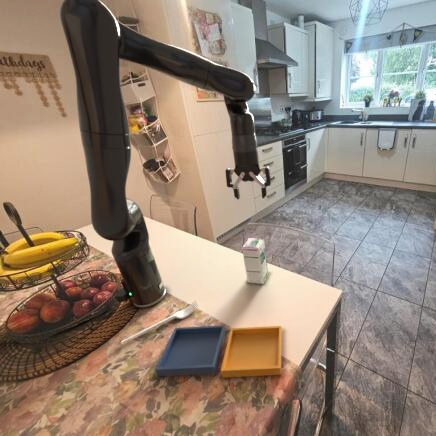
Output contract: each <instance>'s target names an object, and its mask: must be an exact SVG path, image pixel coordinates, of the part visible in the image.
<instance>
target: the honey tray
mask: <svg viewBox="0 0 436 436" xmlns="http://www.w3.org/2000/svg"><path fill="white" fill-rule="evenodd" d="M282 337H283V331H282V325H276V326H275V325H271V326H251V327H249V326H248V327H231V328H230V330H229V334H228V338H227V344H226V347H225V351H224V356H223V360H222V364H221V368H220V373H221V374H220V375H221V377H222V379H223V378H242V377H263V376H281V375H282V352H283V351H282V346H283V345H282V344H283V343H282V341H283V338H282Z"/></svg>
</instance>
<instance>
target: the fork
mask: <svg viewBox="0 0 436 436" xmlns="http://www.w3.org/2000/svg"><path fill="white" fill-rule="evenodd" d="M198 306H199V304H198V302H197V301H196V300H194V301H193V302H192V303H190V304H189V305H188V306H187V307H184V308H183V309H181V310H179V311H176V312H175V313H174V314H172V315H170V316H168V317H166V318H164V319H162V320H161V321H158V322H156V323H154V324H152V325H151V326H149V327H146V328H144V329H143V330H141V331H139V332H136V333H135V334H133V335H131V336H128V337H127V338H125V339H123V340H121V342H120V344H121V345H124V344H126V343H128V342H130V341H131V340H134V339H136V338H138V337H140V336H142V335H145V333H148V332H150V331H152V330H154V329H156V328H158V327H160V326H162V325H164V324H166V323H169V322H171V321H172V320H174V319H179V320H183V319H185V318H187V317H189V316H190V315H191V314H192V313H193V312H194V311H195V310H196V309H197V308H198Z"/></svg>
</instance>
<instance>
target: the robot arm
mask: <svg viewBox="0 0 436 436" xmlns="http://www.w3.org/2000/svg"><path fill="white" fill-rule="evenodd" d="M58 14H59V20H60V23H61V26H62V30H63V34H64V37H65V40H66V44H67V47H68V50H69V51H68V52H69V54H70V59H71V63H72V67H73V72H74V77H75V87H76V88H75V90H76V91H75V93H76V107H77V109H76V110H77V117H78V126H79V133H80V139H81V145H82V149H83V154H84V160H85V164H86V165H85V166H86V173H87V178H88V184H89V193H90V222H91V225H92V229H93V230H94V231H95V233H96V234H97V235H98V236H99V237H100V238H103V239H104V240H107V241H110V242H112V246H111V255H112V257H113V260H114V262H115V264H116V266H117V269H118V271H119V273H120V276H121V277H122V278H121V280H120V283H121V286H122V288H121V289H120V290H119V292H118V293H117V294H115V295H116V296H115V295H114V296H115V297H116V298H115V299H116V301H117V303H126V302H128V301H129V303H130V305H131V306H134V307H135V308H138V309H146V308H150V307H153V306H155V305H157V304H158V303H160V302H161V301H163V299H164V298H165V297H166V294H167V289H166V287H165V284H164V280H163V279H162V277H161V273H160V271H159V268H158V265H157V261H156V259H155V256H154V254H153V251H152V247H151V245H150V234H149V230H148V227H147V223H146V220H145V217H144V214H143V212H142V209H141V207H140V206H139V204H137V202H135V201H134V200H132V199H130V198H127V192H126V191H127V188H126V187H127V181H128V176H129V172H130V166H131V162H132V161H131V160H132V141H131V129H130V124H129V123H130V122H129V119H128V112H127V110H126V109H127V108H126V104H125V101H124V100H125V99H124V97H123V92H122V86H121V76H120V75H121V73H120V61H125V62H128V63H132V64H135V65H139V66H142V67H145V68H148V69H151V70H153V71H156V72H158V73H161V74H164V75H166V76H168V77H170V78H172V79H175V80H178V81H180V82H182V83H184V84H187V85H190V86H193V87H195V88H197V89H200V90H204V91H206V92H212V93H216V94H217V93H218V94H220V95H222V96H223V101H224V104H225V108H226V111H227V115H228V117H229V124H230V131H231V148H232V154H233V161H234V168H233V167H232V168H231V167H227V168H226V169H225V172H224V173H225V182H226V187H227V188H231V189H232V190H233V196H234V198H235V199H236V200H240V198H241V195H240V187H239V185H240V183H241V182H242V181H243V182H245V183H246V182H254V181H255V182H256V183H257V184H258V185H259V186H260V188H261V189H260V190H261V198H262V199H265V198H266V197H267V187H270V186H271V185H272V177H271V169H270V166H269V165H266V166H263V167H261V166H260V161H259V150H258V148H259V147H258V140H257V135H256V126H255V117H254V115H253V113H251V112H250V111H249V106H248V102H249V101H251V100H252V99H253V98H254V96H255V94H256V85H255V82H254V81H253V79H252V78H251V77H250V76H249V75H247V74H246V73H244V72H242V71H240V70H237V69H235V68H231V67H228V66H225V65H221V64H218V63H215V62H213V61H211V60H209V59H207V58H205V57H204V56H201V55H199V54H197V53H194V52H192V51H189V50H186V49H184V48H181V47H178V46H175V45H172V44H168V43H165V42H163V41H160V40H157V39H154V38H151V37H149V36H147V35H144V34H143V33H140V32H138V31H136V30H135V29H132V28H131V27H129V26H127V25H125V24H123V23H122V22H120V21H119V20H117V18H116V17H115V15H114V14H113V12H112V11H111V10H110V9H109V8H108V6H107V5H105V4H104V3H103V2H102V1H101V0H62V2H61V4H60V6H59V13H58ZM261 172H262V173H263V175H265V181H264V179H263V178H262V177H261V176H260V173H261ZM233 174H235V175H236V176H237V178H236V180H235V182H233Z"/></svg>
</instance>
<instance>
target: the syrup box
mask: <svg viewBox="0 0 436 436" xmlns="http://www.w3.org/2000/svg"><path fill="white" fill-rule="evenodd" d="M241 251H242V257H243V263H244V268H245V274H246V279H247V283H250V284H261V285H264V283H265V281H266V279H267V277H268V275H269V268H268V259H267V254H266V245H265V239H264V238H259V237H258V238H257V237H249V238H247V240H246V241H245V242H244V243H243V245H242V246H241Z"/></svg>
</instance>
